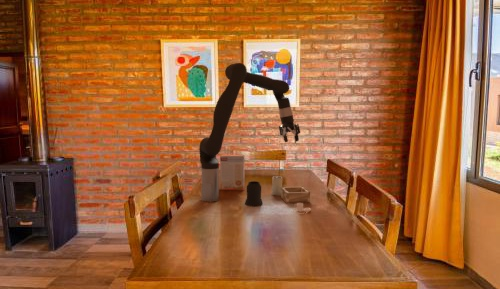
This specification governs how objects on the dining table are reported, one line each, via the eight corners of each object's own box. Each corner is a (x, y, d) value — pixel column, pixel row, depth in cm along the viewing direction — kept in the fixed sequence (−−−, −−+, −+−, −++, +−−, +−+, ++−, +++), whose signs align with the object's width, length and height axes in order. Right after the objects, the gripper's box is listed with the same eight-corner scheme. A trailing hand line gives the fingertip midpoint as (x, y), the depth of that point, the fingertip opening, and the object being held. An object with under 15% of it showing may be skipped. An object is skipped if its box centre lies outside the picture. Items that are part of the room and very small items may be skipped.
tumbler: (280, 195, 180) (280, 178, 179) (270, 194, 182) (271, 177, 181) (283, 193, 185) (283, 176, 184) (273, 192, 187) (274, 175, 186)
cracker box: (244, 188, 196) (244, 154, 193) (243, 191, 190) (243, 156, 187) (222, 187, 197) (221, 154, 195) (220, 190, 191) (220, 155, 189)
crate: (309, 202, 167) (310, 192, 167) (286, 203, 165) (286, 193, 165) (302, 196, 180) (302, 186, 179) (280, 196, 178) (280, 187, 177)
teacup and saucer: (312, 211, 154) (312, 203, 154) (305, 216, 148) (305, 207, 147) (296, 208, 159) (296, 200, 159) (288, 212, 152) (288, 204, 152)
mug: (261, 206, 160) (262, 184, 158) (243, 206, 161) (243, 184, 160) (264, 200, 171) (264, 179, 170) (247, 199, 173) (247, 178, 171)
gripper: (273, 117, 195) (279, 143, 197) (291, 115, 184) (296, 142, 186) (281, 115, 199) (287, 140, 202) (299, 112, 189) (304, 139, 191)
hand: (291, 141), depth 194 cm, fingers open, 8 cm apart
